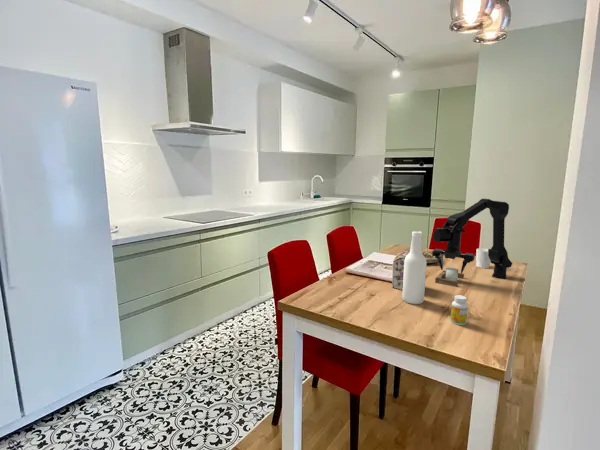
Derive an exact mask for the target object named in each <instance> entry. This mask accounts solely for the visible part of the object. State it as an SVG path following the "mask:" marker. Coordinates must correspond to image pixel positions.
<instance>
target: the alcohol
mask: <svg viewBox="0 0 600 450" xmlns="http://www.w3.org/2000/svg"><path fill="white" fill-rule="evenodd" d="M422 237H423V232H422V231H420V230H414V231H412V232H411V242H410V247H409V248H410V249H409V250H410V252H409V254H408V255H407V256H406V257H405V260H404V275H403V290H402V292H401V293H402V295H401V298H402V300H403V302H404V303H406V302H407V304H409V303H410V304H409V305H421V304H422V303H424V301H425V288H426V279H425V277H427V276H426V275H427V264H426V263H427V262H426V258H425V257H424V255H423V254H422V251H423V242H422V241H423V240H422V239H423V238H422Z"/></svg>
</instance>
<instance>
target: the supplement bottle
mask: <svg viewBox="0 0 600 450" xmlns="http://www.w3.org/2000/svg"><path fill="white" fill-rule="evenodd" d="M468 311H469V305H468V303H467V297H466V296H464V295H460V294H456V295H454V300H453V301H452V302H451V311H450V322H451V323H452V324H454V325H457V326H466V324H467V322H468Z"/></svg>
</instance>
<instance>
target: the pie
mask: <svg viewBox="0 0 600 450" xmlns="http://www.w3.org/2000/svg"><path fill="white" fill-rule="evenodd" d="M422 254H423V255H424V257H425V258H426V260H427V263H426V265H435V264H436V262H439V261H438V259H437V258H435V256H432V253H431V252H427V251H423V250H422Z"/></svg>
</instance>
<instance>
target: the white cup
mask: <svg viewBox="0 0 600 450" xmlns="http://www.w3.org/2000/svg"><path fill="white" fill-rule="evenodd" d="M488 249H489V248H483V247H479V248H476V253H475V255H476V256H475V258H476V259H475V263H476V264H475V266H476V267H478V268H479V269H480V268H481V269H489V268H490V264H491V261H490V259H489V256H488Z"/></svg>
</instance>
